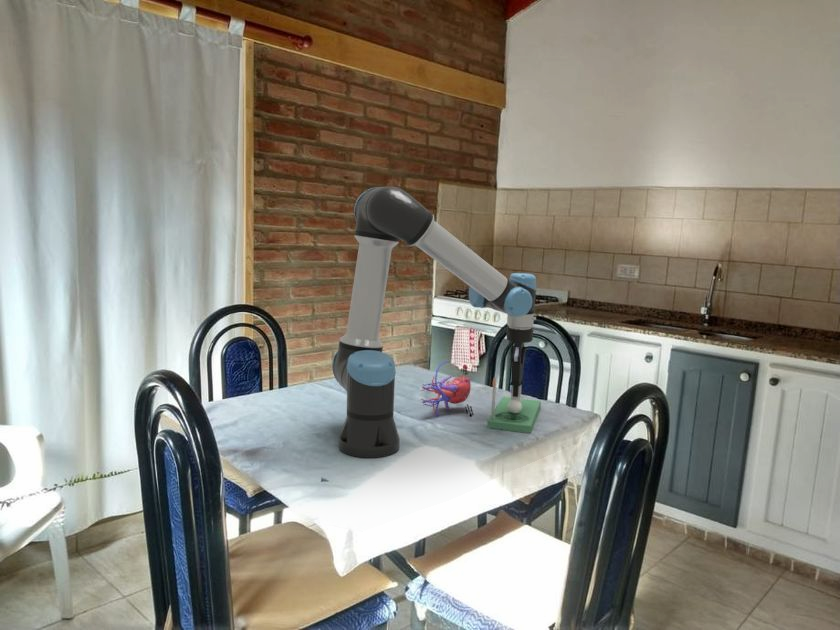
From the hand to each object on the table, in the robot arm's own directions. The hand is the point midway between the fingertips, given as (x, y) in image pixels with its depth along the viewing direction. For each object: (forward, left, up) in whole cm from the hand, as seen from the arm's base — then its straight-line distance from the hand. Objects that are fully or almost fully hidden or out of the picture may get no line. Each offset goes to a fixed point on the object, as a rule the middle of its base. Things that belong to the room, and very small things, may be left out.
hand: (515, 406), depth 189 cm
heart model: (-4, +18, -4) cm, 19 cm away
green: (0, 0, -3) cm, 3 cm away
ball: (-3, 0, +1) cm, 3 cm away
